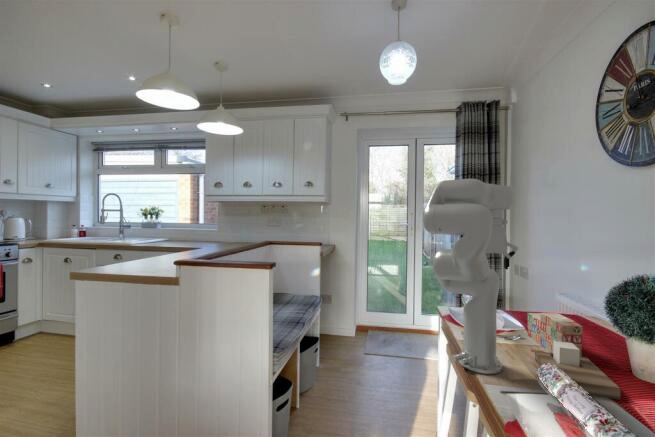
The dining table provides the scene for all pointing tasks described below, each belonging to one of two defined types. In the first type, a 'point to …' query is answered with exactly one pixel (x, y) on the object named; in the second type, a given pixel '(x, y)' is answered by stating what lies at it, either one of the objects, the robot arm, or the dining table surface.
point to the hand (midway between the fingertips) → (491, 268)
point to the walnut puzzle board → (584, 376)
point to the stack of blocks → (554, 330)
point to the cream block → (566, 353)
